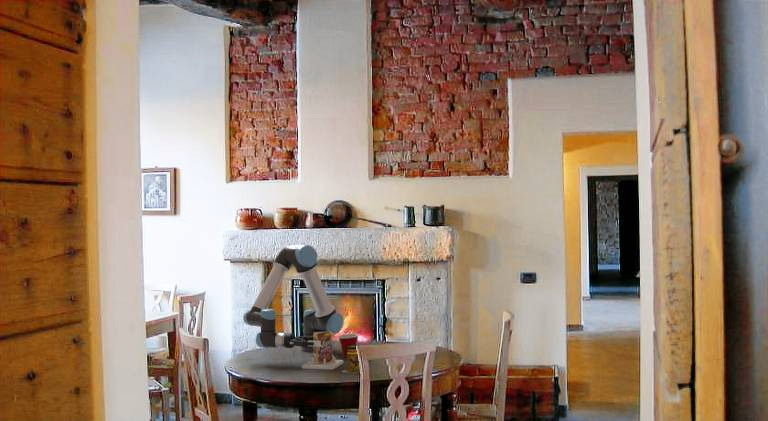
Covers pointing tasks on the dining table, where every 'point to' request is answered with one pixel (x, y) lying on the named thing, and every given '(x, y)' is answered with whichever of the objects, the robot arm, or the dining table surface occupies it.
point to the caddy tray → (322, 364)
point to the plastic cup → (347, 342)
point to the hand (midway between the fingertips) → (325, 341)
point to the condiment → (352, 360)
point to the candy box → (323, 347)
